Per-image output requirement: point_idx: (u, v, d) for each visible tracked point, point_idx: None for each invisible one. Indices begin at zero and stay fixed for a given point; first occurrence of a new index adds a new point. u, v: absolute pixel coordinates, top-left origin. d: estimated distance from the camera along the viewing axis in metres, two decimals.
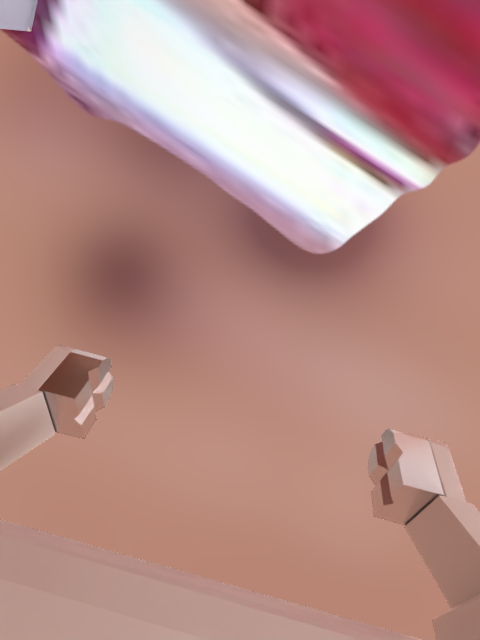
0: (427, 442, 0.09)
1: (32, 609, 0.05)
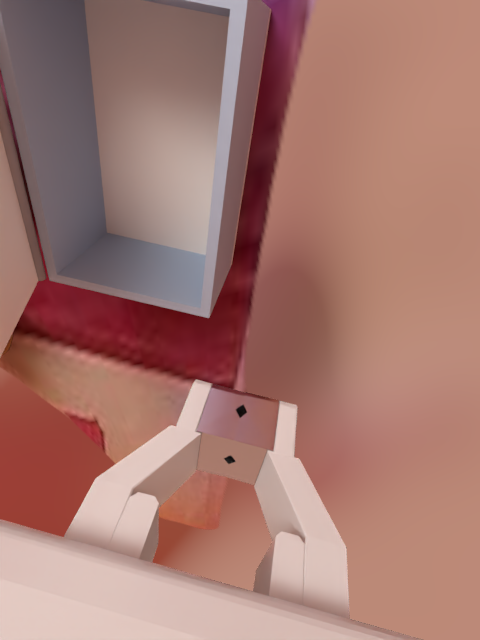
0: (276, 404, 0.09)
1: (32, 609, 0.05)
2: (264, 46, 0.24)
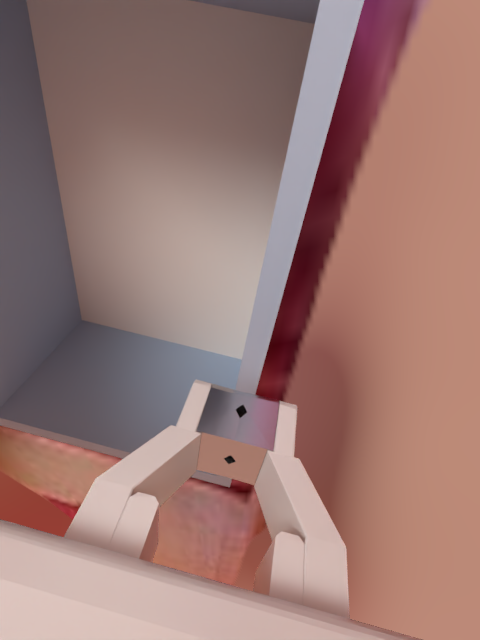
0: (276, 404, 0.09)
1: (32, 609, 0.05)
2: None
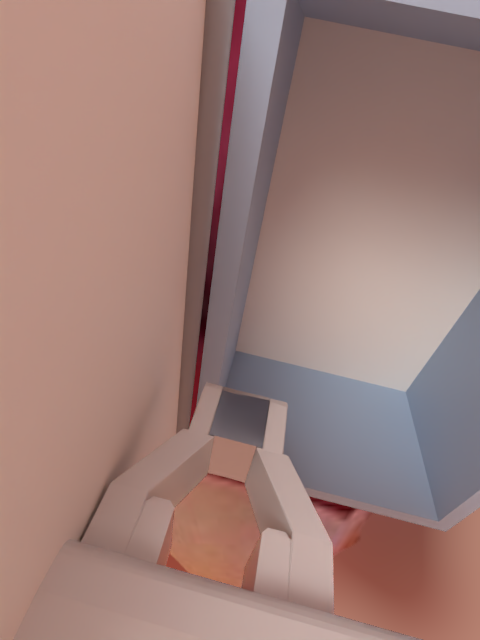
0: (267, 401, 0.09)
1: (32, 609, 0.05)
2: None
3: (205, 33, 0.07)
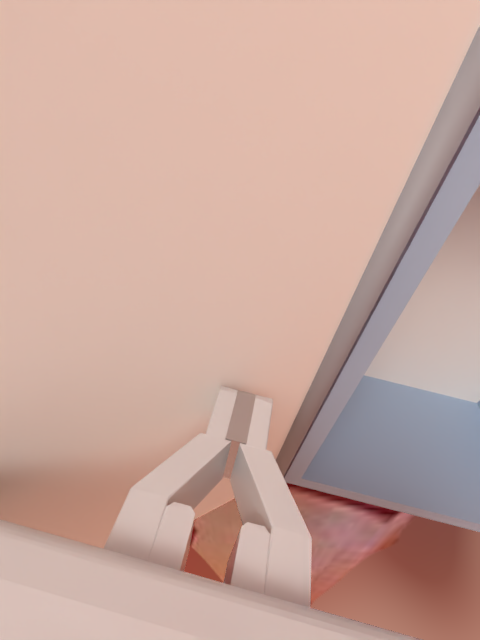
0: (252, 397, 0.09)
1: (32, 609, 0.05)
2: None
3: (463, 69, 0.07)
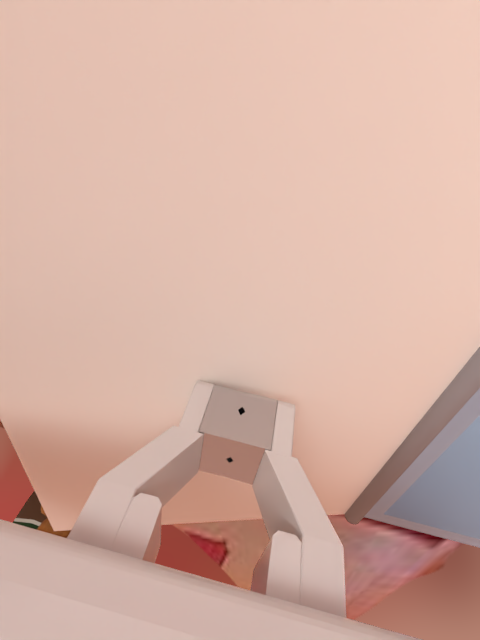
0: (274, 403, 0.09)
1: (32, 609, 0.05)
2: None
3: None
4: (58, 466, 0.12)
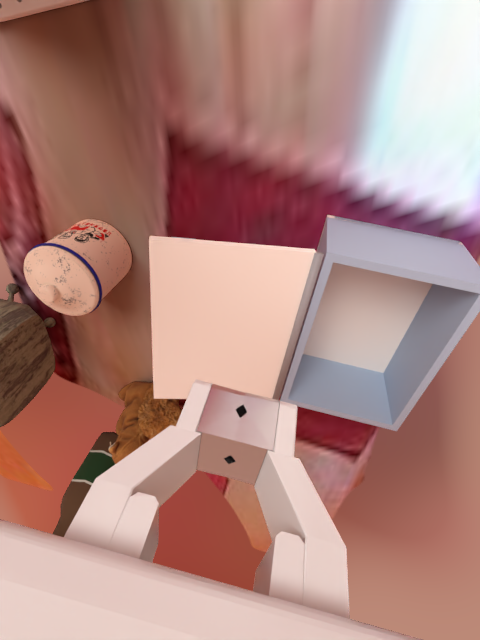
0: (277, 403, 0.09)
1: (32, 609, 0.05)
2: None
3: (311, 269, 0.31)
4: (163, 364, 0.36)
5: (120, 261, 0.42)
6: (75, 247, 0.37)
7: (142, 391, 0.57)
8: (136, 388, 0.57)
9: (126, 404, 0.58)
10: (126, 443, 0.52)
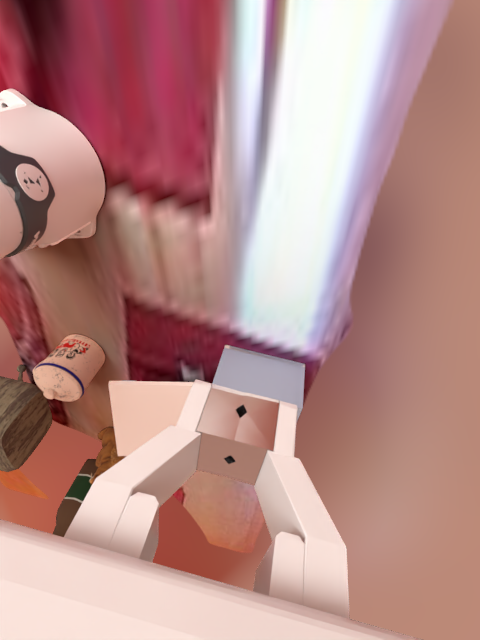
0: (277, 404, 0.09)
1: (32, 609, 0.05)
2: None
3: None
4: (122, 438, 0.59)
5: (96, 364, 0.64)
6: (67, 364, 0.59)
7: (114, 436, 0.79)
8: (110, 433, 0.80)
9: (103, 445, 0.80)
10: None
